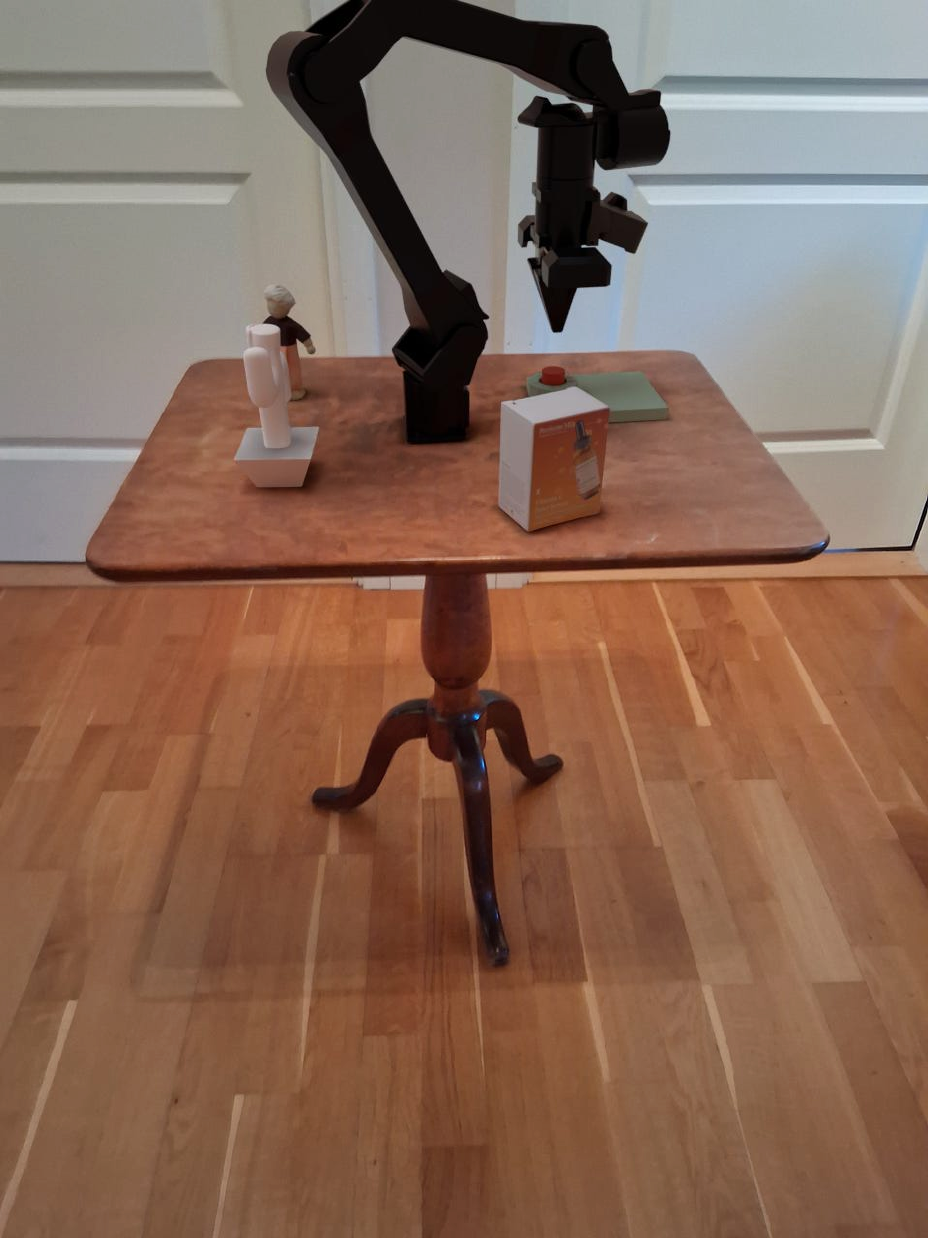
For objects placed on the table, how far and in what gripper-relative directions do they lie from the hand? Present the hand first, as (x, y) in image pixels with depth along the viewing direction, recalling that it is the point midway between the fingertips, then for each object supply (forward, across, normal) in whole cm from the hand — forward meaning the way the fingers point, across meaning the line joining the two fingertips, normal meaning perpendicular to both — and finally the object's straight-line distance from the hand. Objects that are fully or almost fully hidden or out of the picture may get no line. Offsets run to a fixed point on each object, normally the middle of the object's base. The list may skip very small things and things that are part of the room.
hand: (556, 331), depth 98 cm
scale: (+9, 0, -5) cm, 10 cm away
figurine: (+9, -14, +30) cm, 34 cm away
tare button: (+6, 0, 0) cm, 6 cm away
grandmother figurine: (+9, +7, +30) cm, 32 cm away
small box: (+9, -24, +5) cm, 26 cm away
